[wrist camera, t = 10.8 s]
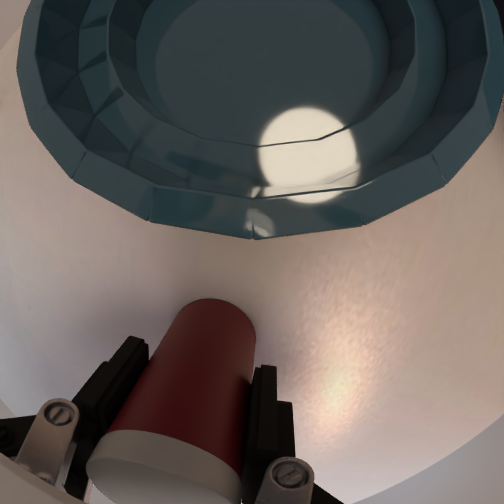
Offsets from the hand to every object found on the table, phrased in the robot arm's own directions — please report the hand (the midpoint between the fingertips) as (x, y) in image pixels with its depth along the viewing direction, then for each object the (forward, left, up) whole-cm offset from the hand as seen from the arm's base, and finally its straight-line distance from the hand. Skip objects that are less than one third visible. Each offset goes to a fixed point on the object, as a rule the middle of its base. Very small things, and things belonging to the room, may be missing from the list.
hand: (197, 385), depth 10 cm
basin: (0, +14, -4) cm, 15 cm away
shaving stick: (0, 0, -4) cm, 4 cm away
